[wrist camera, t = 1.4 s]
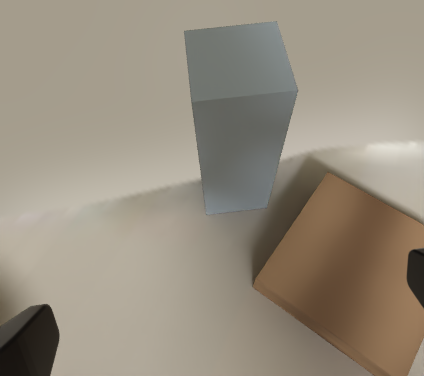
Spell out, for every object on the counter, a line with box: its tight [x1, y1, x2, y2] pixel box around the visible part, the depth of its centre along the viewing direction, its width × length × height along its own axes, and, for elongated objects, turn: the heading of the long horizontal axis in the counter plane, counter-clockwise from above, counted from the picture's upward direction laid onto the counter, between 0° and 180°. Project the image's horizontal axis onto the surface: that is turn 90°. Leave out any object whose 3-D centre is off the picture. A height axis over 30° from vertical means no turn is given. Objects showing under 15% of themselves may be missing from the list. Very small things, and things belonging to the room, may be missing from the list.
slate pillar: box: [184, 21, 298, 215], centre depth 20 cm, size 4×4×12 cm
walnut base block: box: [253, 172, 424, 376], centre depth 21 cm, size 9×9×3 cm
